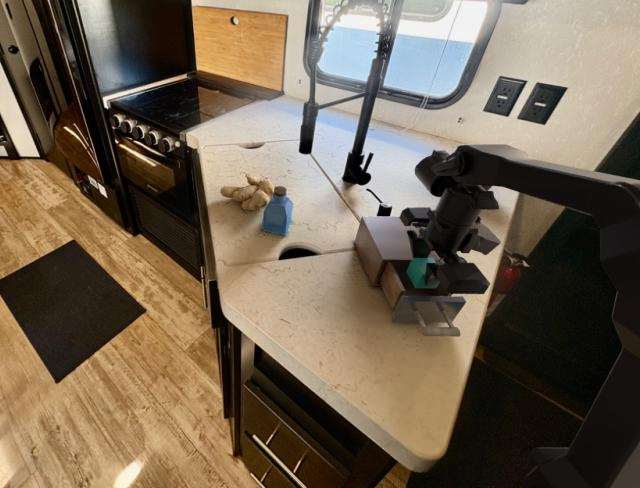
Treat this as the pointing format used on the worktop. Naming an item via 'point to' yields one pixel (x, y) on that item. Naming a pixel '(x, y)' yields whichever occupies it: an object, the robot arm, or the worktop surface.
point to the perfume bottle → (278, 212)
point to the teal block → (419, 272)
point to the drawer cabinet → (383, 244)
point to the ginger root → (251, 193)
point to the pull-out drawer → (419, 302)
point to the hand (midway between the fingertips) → (422, 276)
